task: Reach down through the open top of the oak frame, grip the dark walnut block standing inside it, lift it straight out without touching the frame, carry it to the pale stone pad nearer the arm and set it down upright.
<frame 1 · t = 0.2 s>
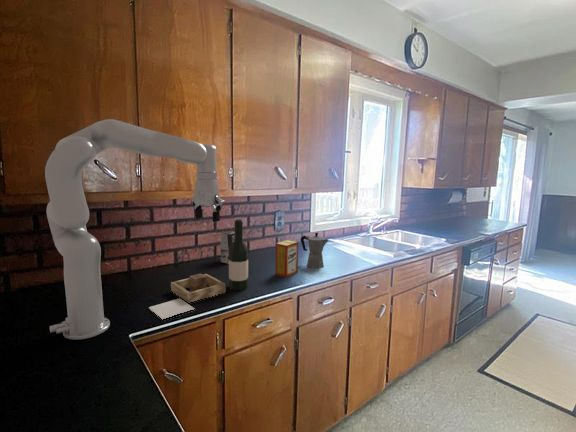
hand: (207, 219, 128), 31 cm above the counter, fingers open, 9 cm apart
baking soda box: (286, 273, 158), on the counter
stone pad: (171, 309, 117), on the counter
walnut block: (198, 284, 132), in the oak frame
coffee box: (230, 261, 175), on the counter
coffeepot: (313, 265, 172), on the counter
oak frame: (198, 292, 133), on the counter
wine bottle: (238, 287, 140), on the counter
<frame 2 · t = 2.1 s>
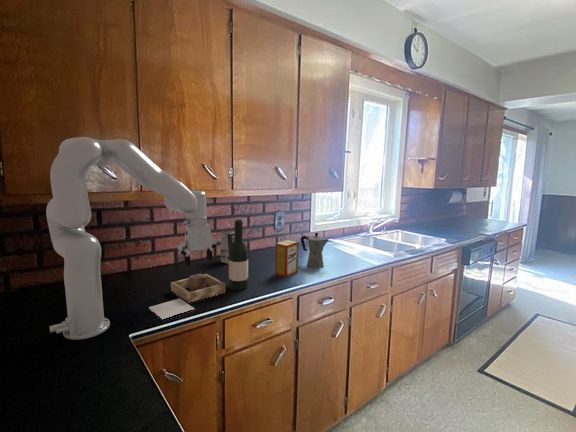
hand: (198, 262, 131), 13 cm above the counter, fingers open, 9 cm apart
nothing on the counter moved.
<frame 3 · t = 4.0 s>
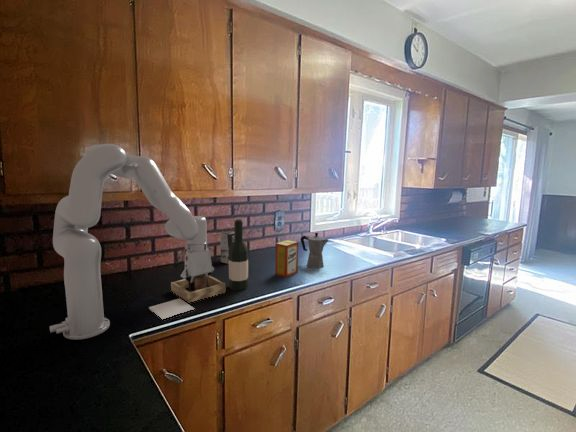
hand: (198, 288, 133), 1 cm above the counter, fingers closed on walnut block, 5 cm apart
walnut block: (198, 284, 132), in the oak frame, touching gripper
everything else where it was.
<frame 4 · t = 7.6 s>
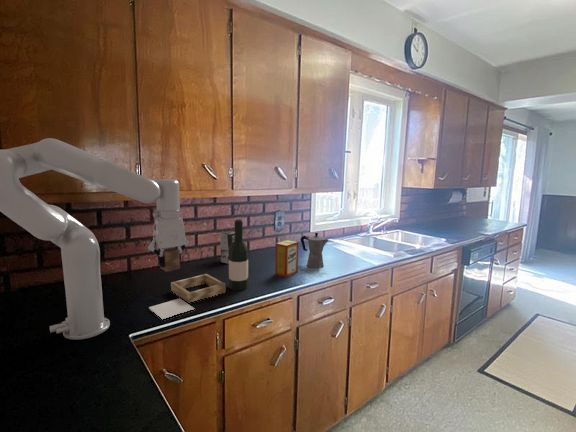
hand: (169, 264, 114), 17 cm above the counter, fingers closed on walnut block, 5 cm apart
walnut block: (169, 259, 114), point 19 cm above the counter, touching gripper
everything else where it was.
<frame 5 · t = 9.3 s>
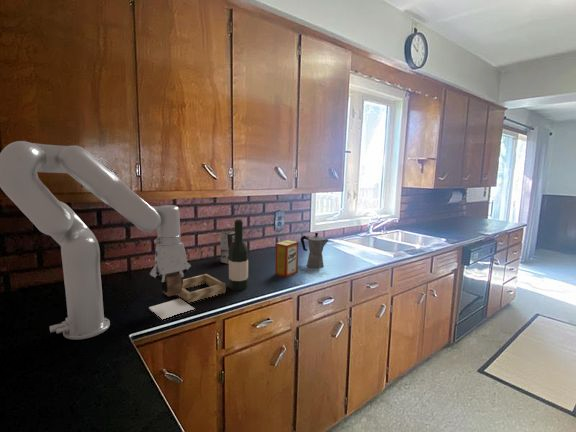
hand: (172, 288, 116), 8 cm above the counter, fingers closed on walnut block, 5 cm apart
walnut block: (171, 283, 115), point 10 cm above the counter, touching gripper
everything else where it was.
when the fingers open (4 cm above the counter, at t = 11.0 s): walnut block drops 1 cm, resting on stone pad.
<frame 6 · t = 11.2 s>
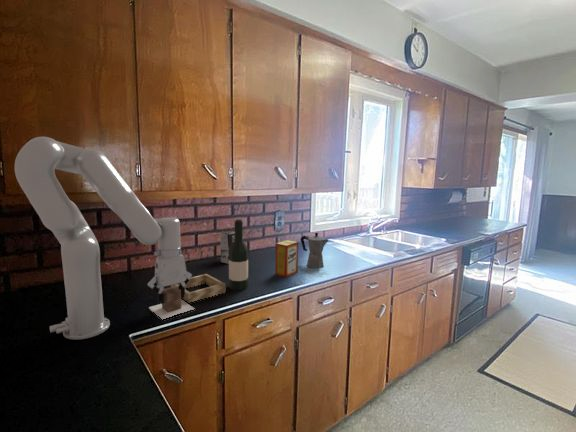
hand: (171, 299, 116), 4 cm above the counter, fingers open, 7 cm apart
walnut block: (171, 299, 116), on the stone pad, point 4 cm above the counter
everything else where it was.
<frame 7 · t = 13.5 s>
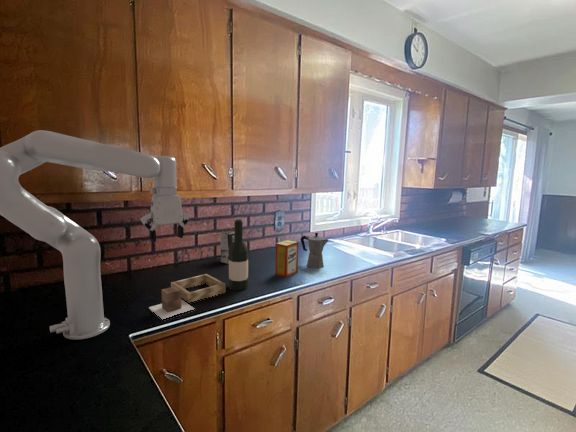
hand: (167, 239, 115), 26 cm above the counter, fingers open, 9 cm apart
nothing on the counter moved.
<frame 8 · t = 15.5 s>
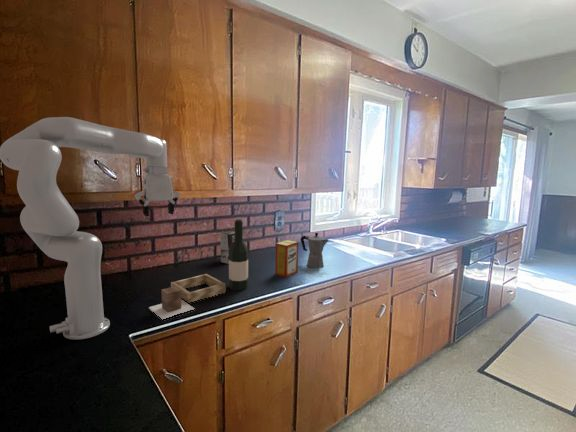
hand: (159, 214, 127), 32 cm above the counter, fingers open, 9 cm apart
nothing on the counter moved.
at the end: walnut block inside the target area on the stone pad (0.0 cm from its centre), point 4.1 cm above the stone pad's base; walnut block tilted 0°; the gripper is holding nothing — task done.
